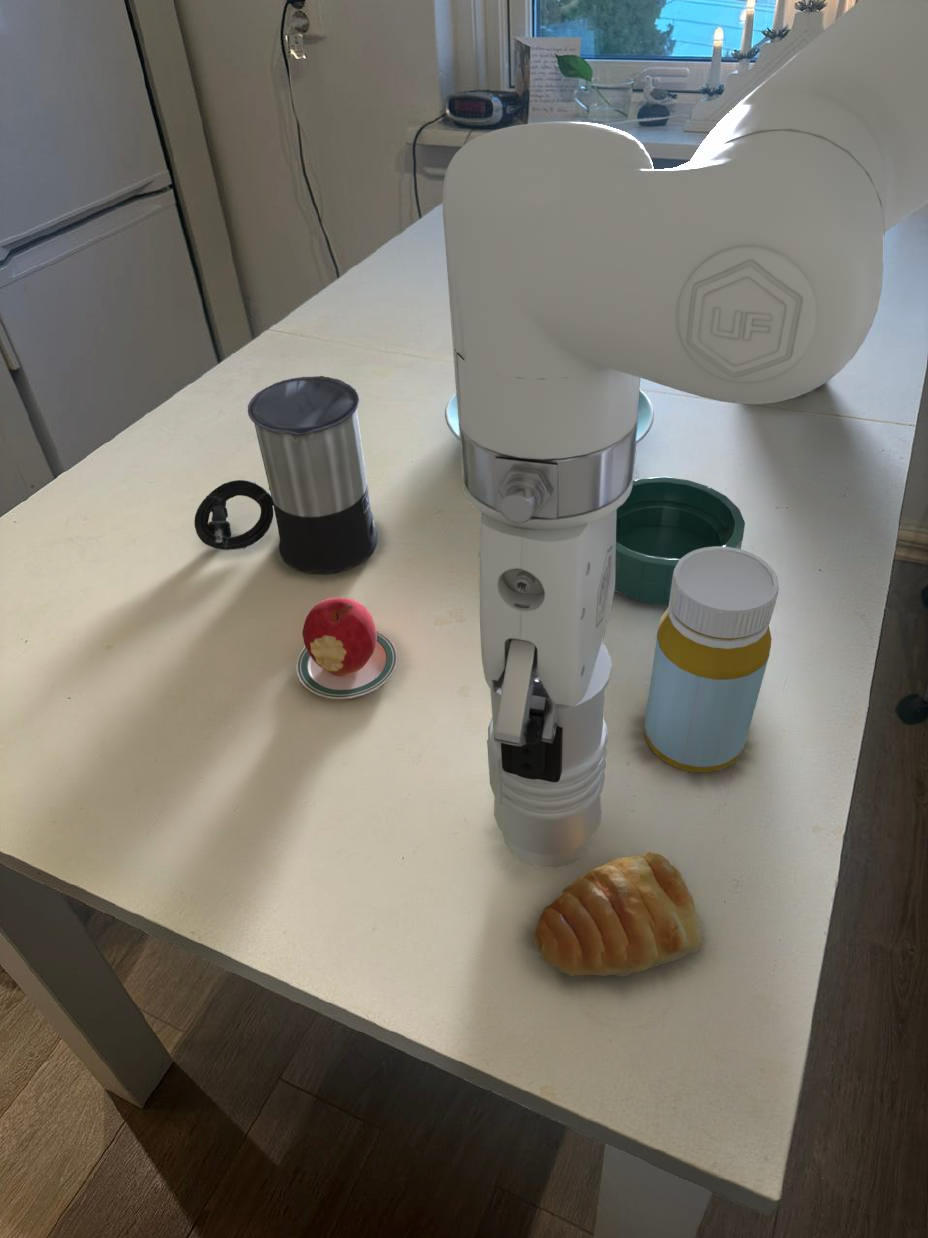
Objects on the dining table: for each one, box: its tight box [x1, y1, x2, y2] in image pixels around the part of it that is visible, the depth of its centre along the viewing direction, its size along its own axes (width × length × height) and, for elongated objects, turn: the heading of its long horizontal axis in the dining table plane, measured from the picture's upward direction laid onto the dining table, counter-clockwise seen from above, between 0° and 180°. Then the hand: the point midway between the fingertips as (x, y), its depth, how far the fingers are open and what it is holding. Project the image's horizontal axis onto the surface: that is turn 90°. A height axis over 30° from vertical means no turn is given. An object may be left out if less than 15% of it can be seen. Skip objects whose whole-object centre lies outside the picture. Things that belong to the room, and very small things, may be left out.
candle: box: [486, 641, 613, 869], centre depth 51 cm, size 7×7×15 cm
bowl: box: [614, 476, 746, 606], centre depth 75 cm, size 13×13×5 cm
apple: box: [295, 597, 398, 700], centre depth 67 cm, size 8×8×6 cm
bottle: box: [643, 546, 780, 773], centre depth 57 cm, size 7×7×15 cm
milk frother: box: [193, 375, 379, 575], centre depth 77 cm, size 14×16×15 cm
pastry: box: [534, 851, 704, 977], centre depth 51 cm, size 9×7×4 cm
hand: (546, 724), depth 50 cm, fingers closed on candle, 6 cm apart
